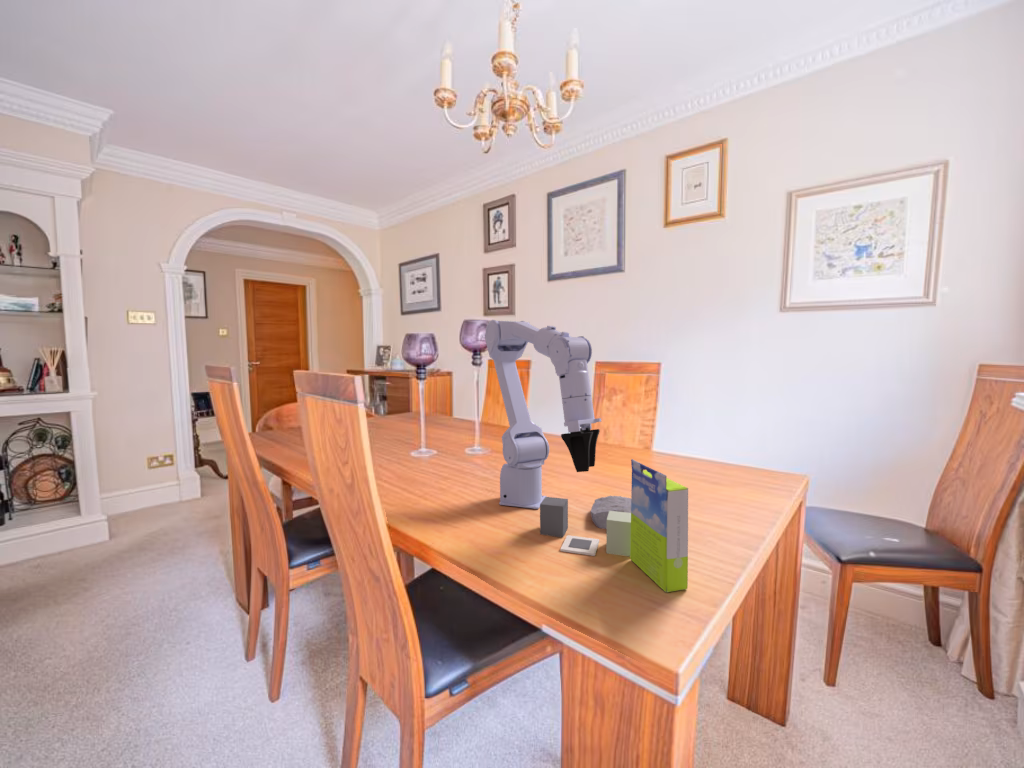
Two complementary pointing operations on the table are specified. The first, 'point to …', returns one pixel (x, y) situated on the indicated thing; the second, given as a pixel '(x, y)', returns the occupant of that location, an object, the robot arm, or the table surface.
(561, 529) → the charcoal block
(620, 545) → the sage block
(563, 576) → the table surface
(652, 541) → the box
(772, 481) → the table surface
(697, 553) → the table surface
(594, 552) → the card
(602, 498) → the stone block
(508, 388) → the robot arm
